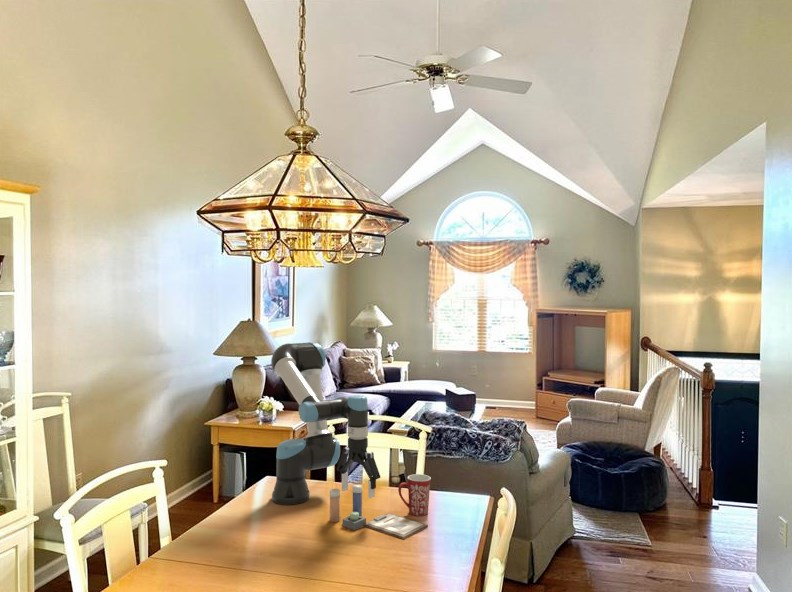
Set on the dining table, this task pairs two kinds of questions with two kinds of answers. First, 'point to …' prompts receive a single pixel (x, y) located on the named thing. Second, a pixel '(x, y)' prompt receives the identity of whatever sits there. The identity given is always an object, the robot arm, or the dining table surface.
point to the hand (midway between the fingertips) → (357, 493)
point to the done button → (354, 516)
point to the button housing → (354, 523)
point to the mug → (417, 494)
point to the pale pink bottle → (334, 505)
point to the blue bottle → (357, 499)
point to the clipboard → (396, 525)
